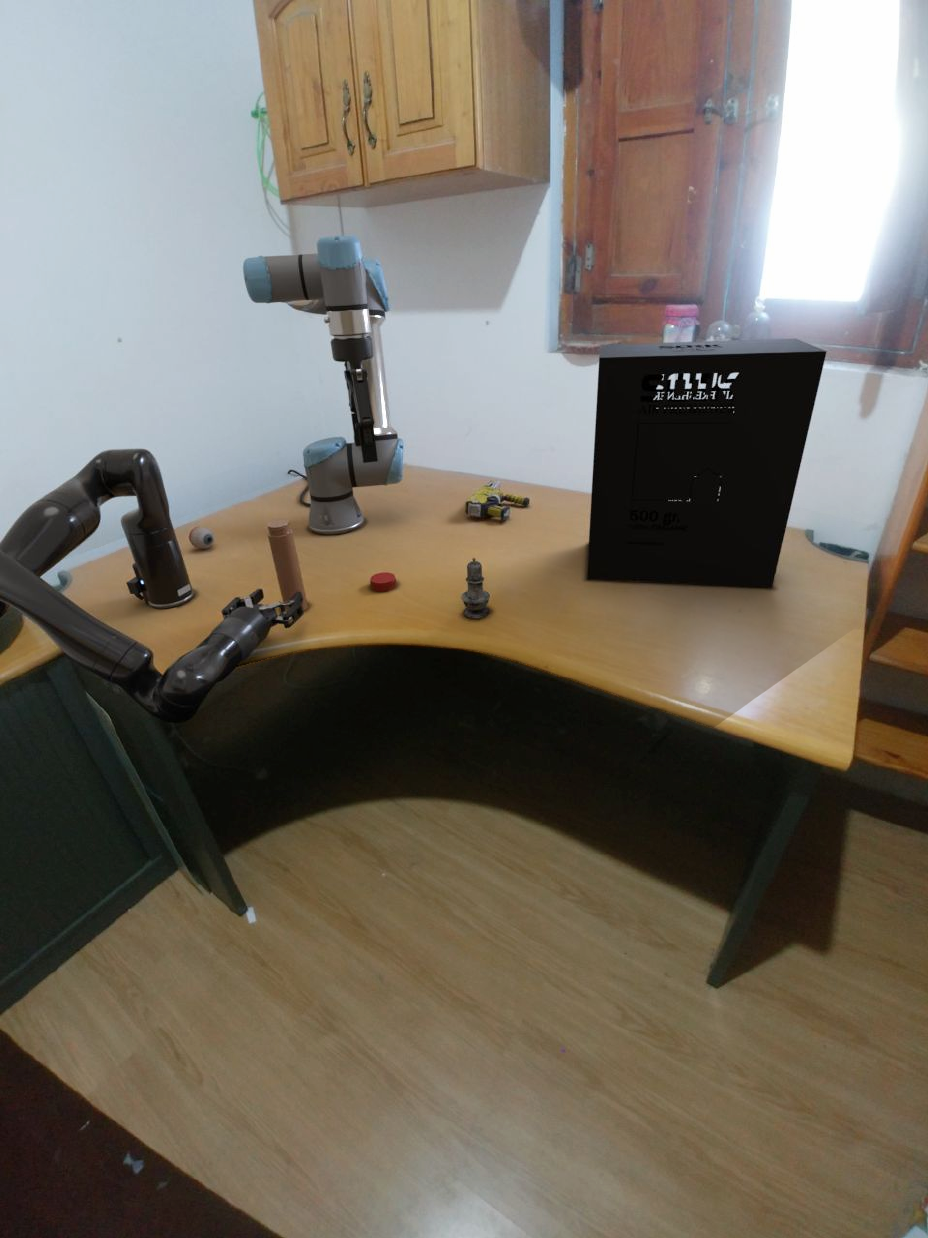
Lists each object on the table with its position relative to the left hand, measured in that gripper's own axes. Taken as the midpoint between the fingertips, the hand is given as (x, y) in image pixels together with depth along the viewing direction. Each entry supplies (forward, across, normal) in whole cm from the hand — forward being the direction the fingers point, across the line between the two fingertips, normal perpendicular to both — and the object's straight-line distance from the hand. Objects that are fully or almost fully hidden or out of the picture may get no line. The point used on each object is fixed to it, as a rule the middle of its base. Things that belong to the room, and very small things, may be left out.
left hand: (280, 594), depth 121 cm
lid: (+17, +15, -4) cm, 23 cm away
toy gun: (+69, +33, -6) cm, 77 cm away
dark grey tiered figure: (+8, +38, -5) cm, 39 cm away
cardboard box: (+36, +78, -5) cm, 86 cm away
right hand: (+17, +15, +24) cm, 33 cm away
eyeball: (+32, -40, -6) cm, 52 cm away
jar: (+5, 0, -6) cm, 8 cm away
